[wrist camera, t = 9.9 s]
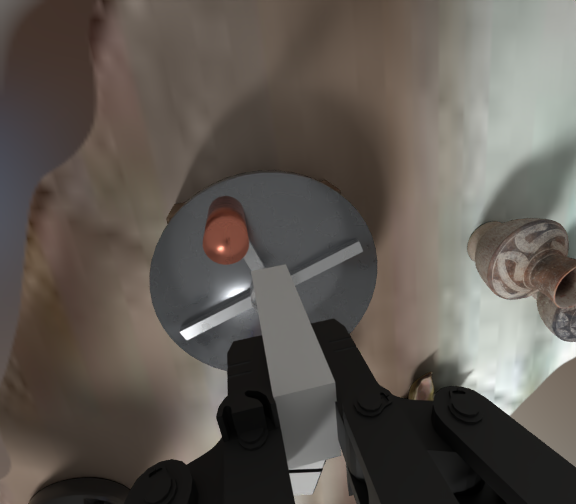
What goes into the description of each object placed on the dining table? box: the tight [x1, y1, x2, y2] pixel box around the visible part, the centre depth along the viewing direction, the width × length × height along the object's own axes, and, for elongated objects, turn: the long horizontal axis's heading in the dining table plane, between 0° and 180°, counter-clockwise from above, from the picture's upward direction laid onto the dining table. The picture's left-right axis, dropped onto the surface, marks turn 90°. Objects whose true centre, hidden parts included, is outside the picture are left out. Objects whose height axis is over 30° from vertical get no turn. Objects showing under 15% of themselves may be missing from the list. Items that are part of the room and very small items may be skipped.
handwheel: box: [150, 170, 377, 371], centre depth 28 cm, size 22×22×8 cm
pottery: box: [467, 218, 576, 342], centre depth 39 cm, size 11×25×12 cm, turn 60°
